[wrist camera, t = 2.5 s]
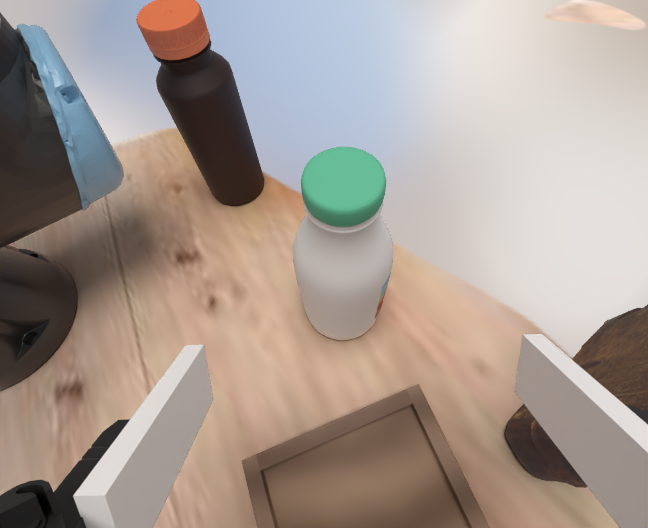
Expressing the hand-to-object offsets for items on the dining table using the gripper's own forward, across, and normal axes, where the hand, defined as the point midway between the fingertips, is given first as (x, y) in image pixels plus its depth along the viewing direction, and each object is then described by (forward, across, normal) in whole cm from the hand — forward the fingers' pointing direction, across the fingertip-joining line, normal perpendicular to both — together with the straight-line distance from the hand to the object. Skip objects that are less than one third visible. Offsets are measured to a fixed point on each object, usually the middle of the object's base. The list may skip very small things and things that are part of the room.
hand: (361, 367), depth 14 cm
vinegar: (+32, -13, +5) cm, 35 cm away
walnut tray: (+7, +1, -20) cm, 21 cm away
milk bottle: (+21, 0, -7) cm, 22 cm away
